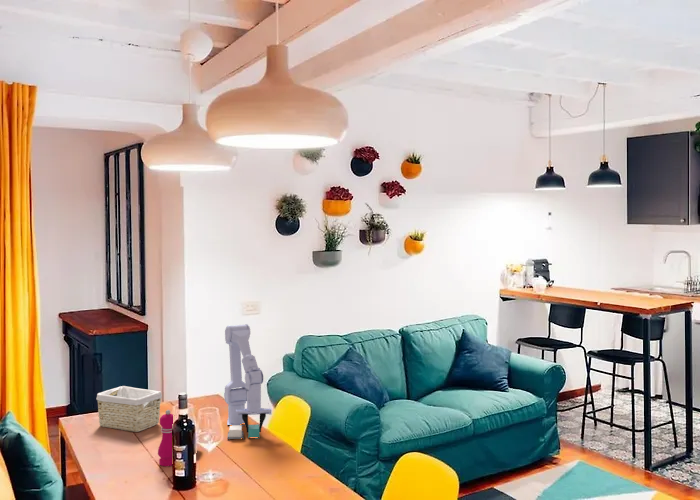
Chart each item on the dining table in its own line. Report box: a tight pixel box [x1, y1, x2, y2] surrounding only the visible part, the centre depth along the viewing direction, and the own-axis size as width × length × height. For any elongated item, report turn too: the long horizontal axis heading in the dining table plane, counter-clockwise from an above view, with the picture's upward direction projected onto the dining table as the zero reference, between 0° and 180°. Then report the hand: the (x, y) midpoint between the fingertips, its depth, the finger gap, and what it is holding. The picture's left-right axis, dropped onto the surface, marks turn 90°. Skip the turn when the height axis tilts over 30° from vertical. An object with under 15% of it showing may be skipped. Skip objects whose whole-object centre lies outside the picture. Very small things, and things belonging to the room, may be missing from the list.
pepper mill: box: [157, 409, 174, 467], centre depth 243 cm, size 7×7×20 cm
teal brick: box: [247, 423, 260, 438], centre depth 274 cm, size 6×4×4 cm
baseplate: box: [227, 430, 244, 439], centre depth 273 cm, size 7×6×1 cm
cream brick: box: [228, 425, 243, 437], centre depth 273 cm, size 6×5×3 cm
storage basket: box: [96, 385, 163, 433], centre depth 287 cm, size 24×16×15 cm
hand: (253, 431), depth 274 cm, fingers closed on teal brick, 4 cm apart
